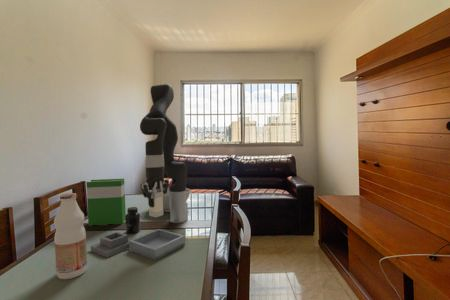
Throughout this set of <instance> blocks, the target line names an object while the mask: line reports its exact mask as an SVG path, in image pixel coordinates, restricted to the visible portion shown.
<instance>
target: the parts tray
mask: <svg viewBox="0 0 450 300" xmlns="http://www.w3.org/2000/svg"><path fill="white" fill-rule="evenodd" d="M185 236H186V235H183V234H181V233H176V232H171V231H169V230H165V229H162V228H158V229H155V230H152V231H150V232H148V233H145V234H143V235H139V236H138V237H134V238H131V239H132V240H130V241H129V248H128V250H129V251H131V252H133V253H136V254H138V255H141V256H144V257H147V258H149V259H150V260H151V259H152V260H154V261H157V260H159V259H161V258H163V257H164V256H166V255H168V254H170V253H173V252H174V251H176V250H178V249H179V248H181V247H183V246H185V245H186V237H185Z"/></svg>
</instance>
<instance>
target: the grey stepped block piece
mask: <svg viewBox="0 0 450 300" xmlns="http://www.w3.org/2000/svg"><path fill="white" fill-rule="evenodd" d="M132 239H133V238H130V237H129V234H127V233H122V232H120V231H114V232H111V233H109V234H106V235H103V236H100V237H99V242H98V243H94V244H92V245H90V251H91V252H93V253H96V254H98V255H100V256H103V257H104V258H110V257H112V256H114V255H117V254H119V253H121V252H123V251H126V250H129V241H130V240H132Z"/></svg>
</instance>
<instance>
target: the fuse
mask: <svg viewBox="0 0 450 300" xmlns="http://www.w3.org/2000/svg"><path fill="white" fill-rule="evenodd" d="M153 198H154V207H150V206H149V205H148V216H149V217H152V218H158V217H162V216H163V215H164V211H163V192H162V191H161V192H160V191H155V193H154V197H153Z"/></svg>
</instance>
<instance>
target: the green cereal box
mask: <svg viewBox="0 0 450 300" xmlns="http://www.w3.org/2000/svg"><path fill="white" fill-rule="evenodd" d="M85 183H86V199H87V200H86V203H87V220H88V223H87V224H88V227H93V226H92V225H99V226H109V225H108V224H114V225H123V224H124V223H125V222H126V220H125V216H126V214H127V211H126V190H125V189H126V188H125V186H126V185H125V184H126V183H125V178H106V179H105V178H102V179H91V180H90V181H86V182H85ZM124 221H125V222H124Z"/></svg>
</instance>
